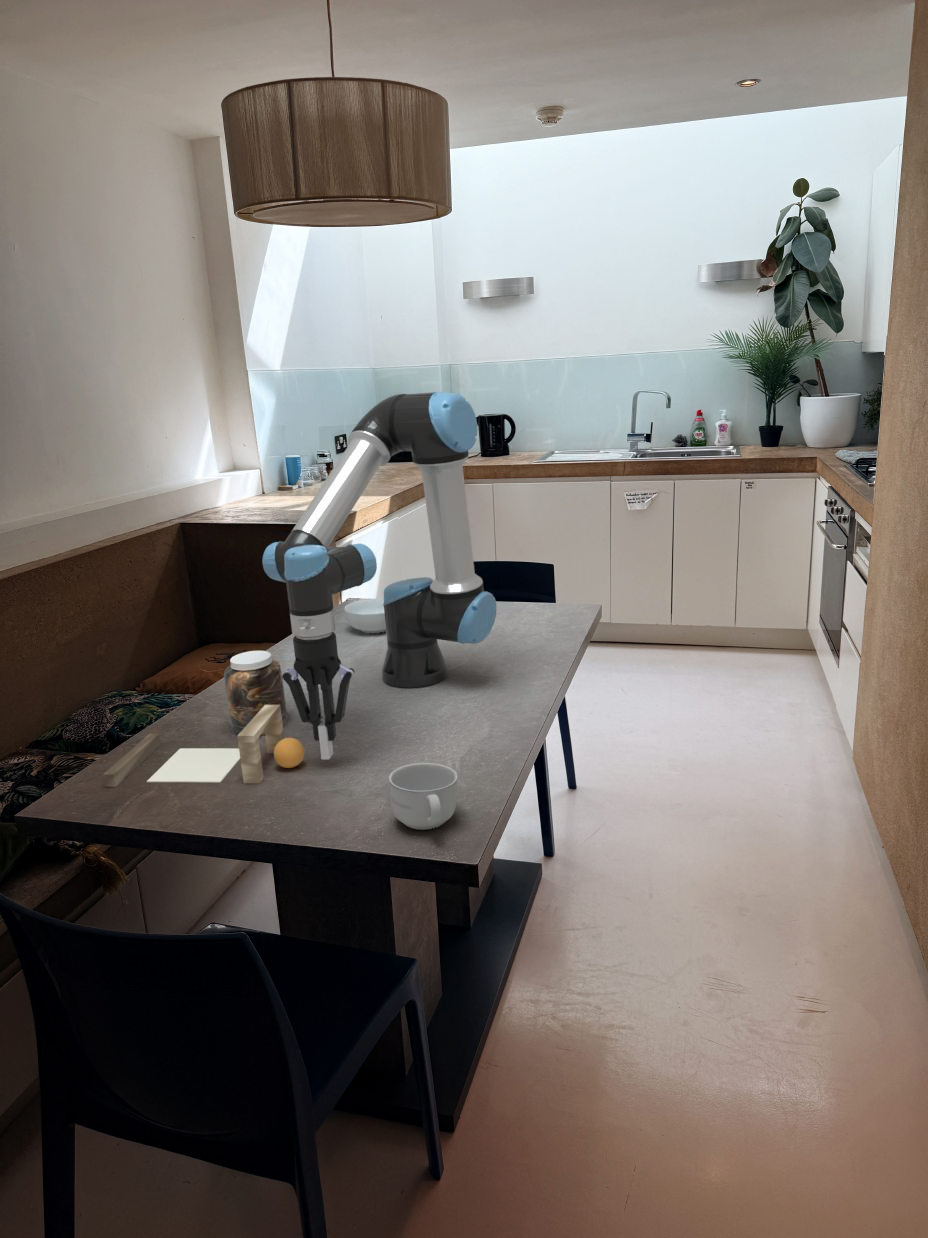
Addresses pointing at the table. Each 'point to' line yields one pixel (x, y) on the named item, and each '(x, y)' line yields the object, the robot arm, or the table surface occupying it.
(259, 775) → the bridge
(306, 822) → the table surface
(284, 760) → the ball
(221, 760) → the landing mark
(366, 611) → the cereal bowl
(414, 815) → the teacup
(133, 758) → the stopper
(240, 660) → the jar
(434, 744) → the table surface
